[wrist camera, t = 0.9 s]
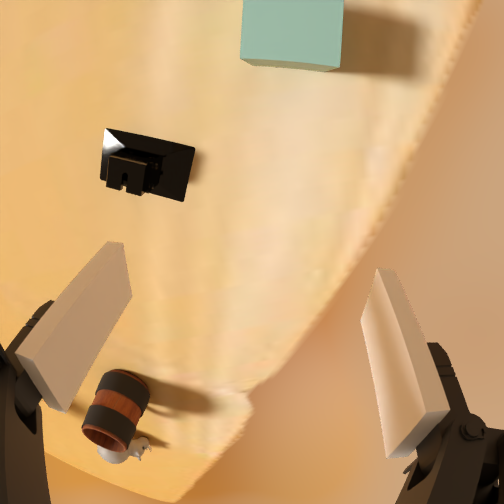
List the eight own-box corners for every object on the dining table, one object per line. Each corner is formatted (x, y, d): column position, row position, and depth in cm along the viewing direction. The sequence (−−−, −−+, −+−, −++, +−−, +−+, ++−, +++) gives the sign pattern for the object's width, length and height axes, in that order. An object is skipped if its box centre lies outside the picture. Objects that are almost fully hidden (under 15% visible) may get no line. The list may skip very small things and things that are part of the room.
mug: (103, 394, 51) (80, 444, 41) (105, 359, 45) (75, 417, 35) (145, 412, 52) (127, 464, 42) (155, 381, 46) (132, 443, 36)
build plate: (91, 181, 31) (66, 196, 27) (98, 115, 27) (71, 122, 23) (197, 210, 31) (183, 231, 27) (214, 140, 28) (200, 150, 24)
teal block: (256, 2, 21) (245, -27, 14) (328, 8, 20) (344, -18, 13) (252, 65, 24) (239, 58, 17) (324, 72, 23) (339, 67, 16)
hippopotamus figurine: (148, 435, 62) (153, 467, 56) (98, 433, 58) (100, 466, 51) (149, 423, 59) (154, 458, 52) (94, 421, 54) (96, 457, 48)
